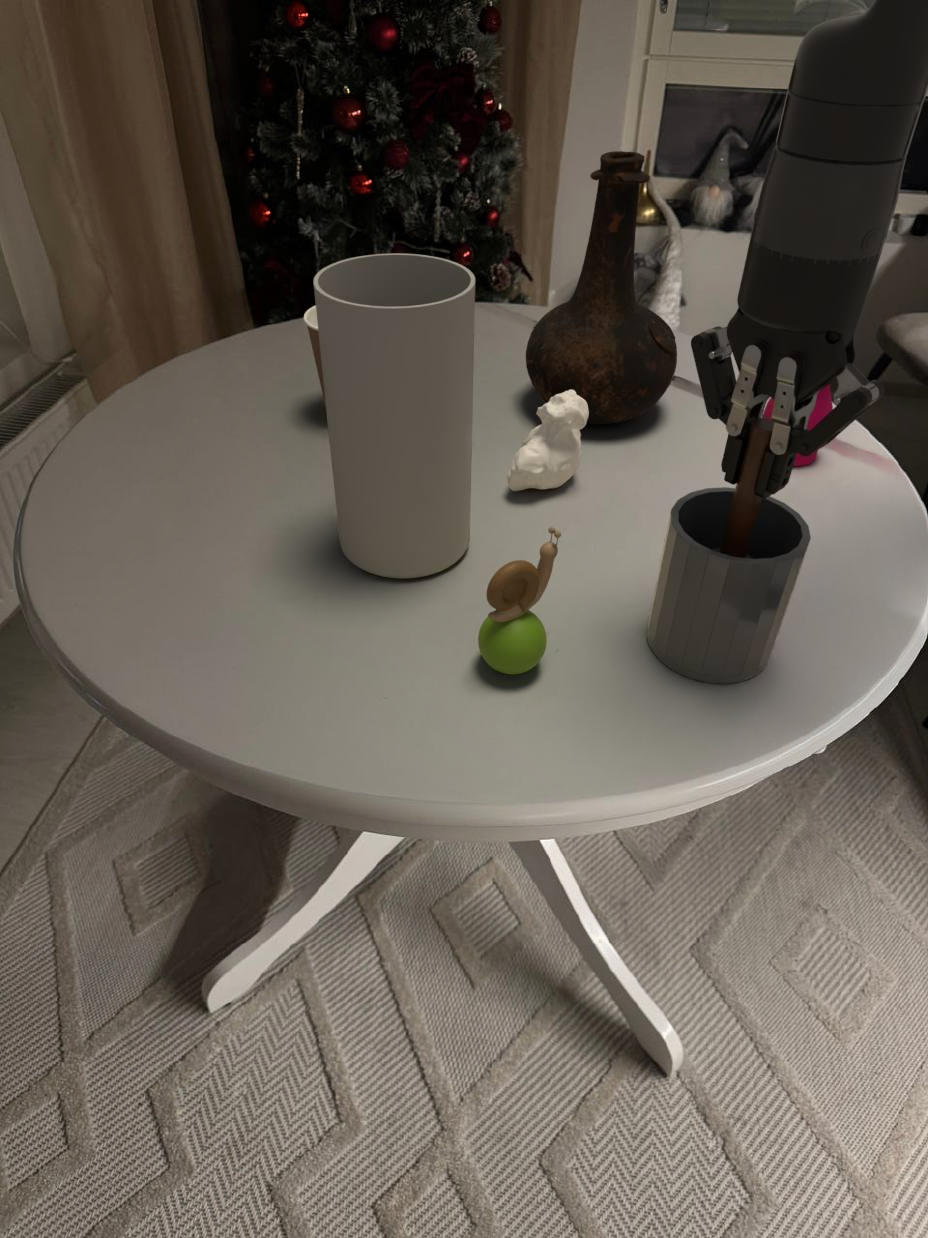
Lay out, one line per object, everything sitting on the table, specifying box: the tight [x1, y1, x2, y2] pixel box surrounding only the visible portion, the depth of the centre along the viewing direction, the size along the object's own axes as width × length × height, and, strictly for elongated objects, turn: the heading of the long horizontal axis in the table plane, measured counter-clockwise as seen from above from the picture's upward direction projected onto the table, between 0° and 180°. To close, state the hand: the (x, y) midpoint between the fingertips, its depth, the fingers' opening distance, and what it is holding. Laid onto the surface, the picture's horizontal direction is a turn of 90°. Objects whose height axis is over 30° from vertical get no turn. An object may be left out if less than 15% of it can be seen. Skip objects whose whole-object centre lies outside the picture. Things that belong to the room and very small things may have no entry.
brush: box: [712, 417, 774, 559], centre depth 63 cm, size 4×4×16 cm
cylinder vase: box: [313, 253, 476, 579], centre depth 73 cm, size 12×12×25 cm
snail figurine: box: [477, 526, 562, 675], centre depth 65 cm, size 5×6×12 cm
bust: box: [506, 389, 589, 492], centre depth 88 cm, size 12×8×11 cm
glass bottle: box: [525, 150, 678, 425], centre depth 95 cm, size 18×18×28 cm
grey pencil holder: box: [646, 486, 812, 685], centre depth 67 cm, size 10×10×12 cm
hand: (750, 485), depth 61 cm, fingers closed on brush, 2 cm apart
